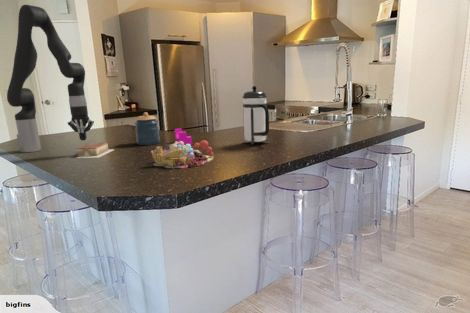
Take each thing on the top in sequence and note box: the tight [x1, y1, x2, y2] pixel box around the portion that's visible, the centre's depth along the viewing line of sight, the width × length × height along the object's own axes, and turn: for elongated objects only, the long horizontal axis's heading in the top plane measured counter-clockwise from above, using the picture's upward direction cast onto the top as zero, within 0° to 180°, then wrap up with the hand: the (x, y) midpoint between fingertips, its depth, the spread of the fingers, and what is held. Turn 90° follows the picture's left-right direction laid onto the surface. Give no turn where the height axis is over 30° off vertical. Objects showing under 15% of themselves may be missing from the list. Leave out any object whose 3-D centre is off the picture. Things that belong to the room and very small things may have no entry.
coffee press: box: [241, 85, 270, 146], centre depth 175 cm, size 17×16×30 cm
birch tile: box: [75, 142, 109, 157], centre depth 167 cm, size 4×12×10 cm
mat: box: [76, 148, 115, 159], centre depth 167 cm, size 11×18×1 cm, turn 176°
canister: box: [134, 111, 161, 146], centre depth 188 cm, size 13×13×18 cm
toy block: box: [174, 128, 193, 146], centre depth 185 cm, size 15×6×8 cm, turn 20°
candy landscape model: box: [150, 140, 214, 169], centre depth 144 cm, size 25×24×9 cm
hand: (83, 140), depth 166 cm, fingers closed
